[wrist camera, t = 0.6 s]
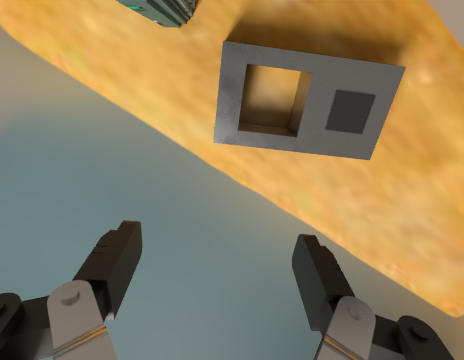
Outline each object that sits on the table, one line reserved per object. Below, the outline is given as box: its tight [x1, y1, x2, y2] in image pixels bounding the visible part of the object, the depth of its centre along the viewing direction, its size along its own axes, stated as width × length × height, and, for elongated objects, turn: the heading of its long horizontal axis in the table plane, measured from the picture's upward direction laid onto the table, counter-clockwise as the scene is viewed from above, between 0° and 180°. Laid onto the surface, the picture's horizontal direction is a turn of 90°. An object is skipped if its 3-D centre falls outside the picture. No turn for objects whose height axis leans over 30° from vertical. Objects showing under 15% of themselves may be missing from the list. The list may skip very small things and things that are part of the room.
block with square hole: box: [213, 41, 406, 160], centre depth 34 cm, size 12×22×5 cm, turn 83°
